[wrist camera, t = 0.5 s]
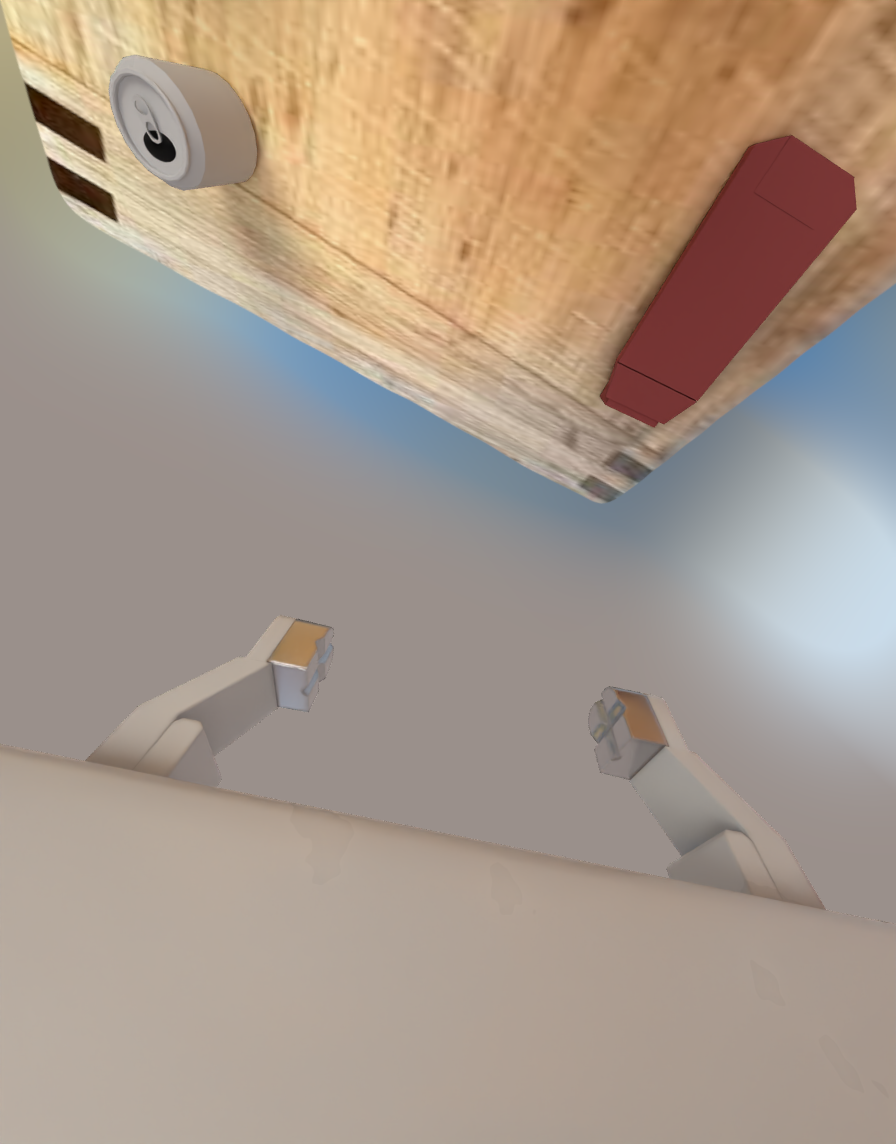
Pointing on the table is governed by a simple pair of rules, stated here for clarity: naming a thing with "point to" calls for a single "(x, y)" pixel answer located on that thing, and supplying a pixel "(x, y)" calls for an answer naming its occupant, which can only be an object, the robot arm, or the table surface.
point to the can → (182, 123)
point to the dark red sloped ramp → (731, 276)
